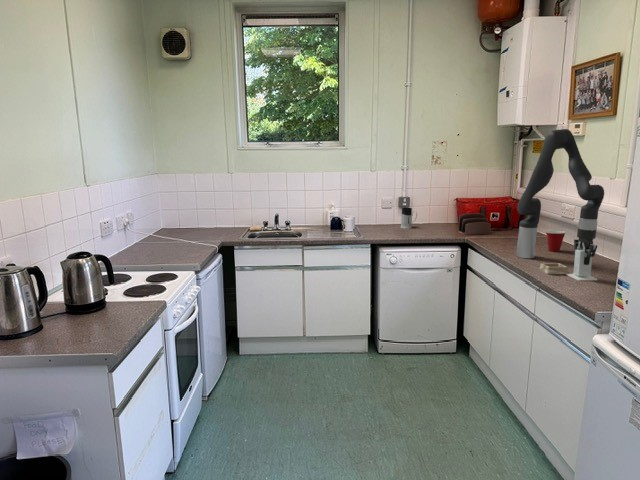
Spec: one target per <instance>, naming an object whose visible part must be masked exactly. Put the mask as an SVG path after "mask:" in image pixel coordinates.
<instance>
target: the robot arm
mask: <svg viewBox="0 0 640 480" xmlns="http://www.w3.org/2000/svg"><path fill="white" fill-rule="evenodd" d="M571 131H572V130H569V129H568V128H561V129H553V130H550V131H549V132H548V133H547V134H546V136H545V137H544V138H545V139H544V141H543V144H542V147H541V150H540V154H539V156H538V160H537V162H536V164H535V166H534V168H533V171H532V173H531V176H530V178H529V181H528V184H527V186H526V188H525V190H524V192H523V193H522V195H521V196H520V198H519V201H518V202H517V207H516V208H517V209H516V211H517V212H518V214H519V215H523V216H524V215H525V216H528V217H526V218H524V219H522V220H520V221H519V227H518V238H517V244H516V254H515V255H516V257H517V258H521V259H534V258H535V256H536V246H537V237H538V234H537V233H538V227H539V226H538V225H539V222H540V216H541V211H542V202H541V199H539V198H537V197H535V195H537V194H538V193H539V192H541V191H542V190H543V189H544V188H545V187H546V186H548V184H549V183H550V181H551V179H552V177H553V174H554V172H555V171H554V164H553V162H552V160H553V159H552V158H553V157H554V154H555V152H556V150H561V149H564V150H565V152H566V154H567V156H568V163H567V165H568V168H567V169H568V172H569V174H570V175H571V177H572V179H573V181H574V183H575V186H576V191H577V194H578V196H579V198H580V199H582V200H583V201H587V202H586V203H585V204H584V205H582V206H581V207H580V213H579V219H578V223H577V225H578V226H577V232H576V237H577V238H578V239H573V243H574V244H573V246H574V251H575V250H583V252H584V253H585V257H584V265H589V263H590V257H592V258H594V257H595V254H596V252H597V249H598V245H596V244H595V243H594V240H595V239H596V236H597V229H598V216H599V210H600V208H601V205H602V203H603V200H604V198H605V189H604V187H603V186H602V185H600V184H590V181H591V180H592V178H593V177H592V176H593V175H592V174H591V172H590V170H589V169H588V167H587V166H586V164H585V162H584V160H583V158H582V155H581V154H580V151H579V147H578V144H577V141H576V139H575V136H574V134H573V132H571ZM587 252H588V255H587ZM591 253H592V254H591Z"/></svg>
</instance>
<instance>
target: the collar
mask: <svg viewBox="0 0 640 480" xmlns="http://www.w3.org/2000/svg"><path fill="white" fill-rule="evenodd" d="M568 268H569V267H568V266H566V265H564V264H562V263H559V262H551V263H550V262H548V263H546V262H545V263H544V262H543V263H540V264H539V271H541V272H542V273H544V274H547V275H566V274H567V273H568Z"/></svg>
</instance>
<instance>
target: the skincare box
mask: <svg viewBox="0 0 640 480" xmlns="http://www.w3.org/2000/svg"><path fill="white" fill-rule="evenodd" d="M591 254H592V253H591ZM587 255H588V252H587ZM584 257H585V253H584V252H583V250H575V249H574V262H573V263H574V265H573V272H572V273H573V274H575V275H577V276H592V275H591V273H592V263H593V262H592V261H593V257H590V263H589V265H584Z"/></svg>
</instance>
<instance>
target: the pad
mask: <svg viewBox="0 0 640 480" xmlns="http://www.w3.org/2000/svg"><path fill="white" fill-rule="evenodd" d="M573 273H574V272H571V273H568V272H567V274H565V276H568V277H570V278H572V279H575V280H576V281H578V282H584V281H598V279H597V278H596V277H593V276H592V275H590V276H577V275H575V274H573Z"/></svg>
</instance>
